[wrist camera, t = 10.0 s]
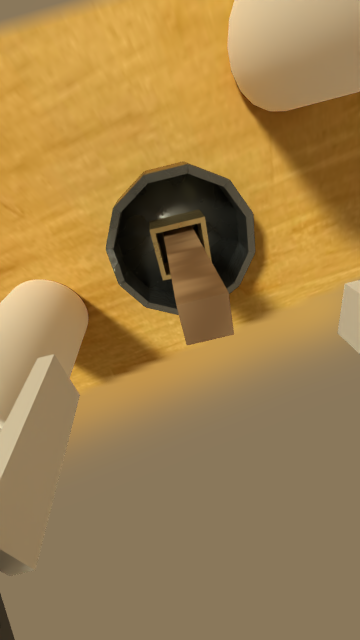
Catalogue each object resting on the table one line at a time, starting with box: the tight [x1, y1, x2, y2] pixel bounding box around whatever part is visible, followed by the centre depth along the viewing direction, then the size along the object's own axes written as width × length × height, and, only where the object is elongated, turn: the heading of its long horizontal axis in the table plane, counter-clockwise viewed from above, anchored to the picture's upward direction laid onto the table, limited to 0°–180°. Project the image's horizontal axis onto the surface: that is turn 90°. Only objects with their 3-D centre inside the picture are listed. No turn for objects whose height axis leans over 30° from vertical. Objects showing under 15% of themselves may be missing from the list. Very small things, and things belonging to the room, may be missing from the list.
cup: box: [0, 279, 89, 432], centre depth 22 cm, size 8×8×16 cm
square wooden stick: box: [163, 225, 234, 345], centre depth 20 cm, size 3×3×14 cm
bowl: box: [106, 162, 255, 315], centre depth 24 cm, size 12×12×4 cm
